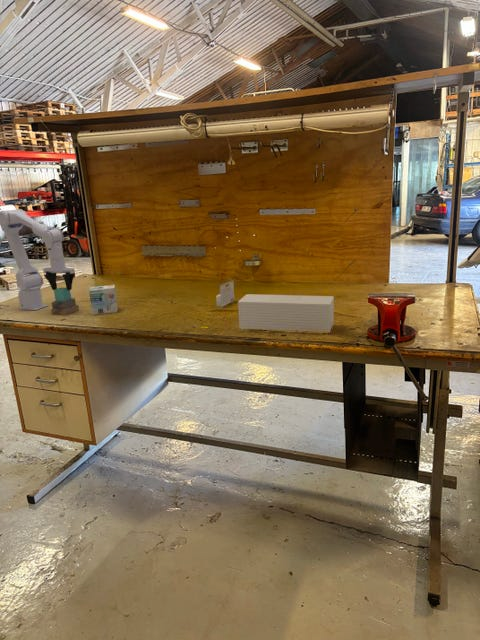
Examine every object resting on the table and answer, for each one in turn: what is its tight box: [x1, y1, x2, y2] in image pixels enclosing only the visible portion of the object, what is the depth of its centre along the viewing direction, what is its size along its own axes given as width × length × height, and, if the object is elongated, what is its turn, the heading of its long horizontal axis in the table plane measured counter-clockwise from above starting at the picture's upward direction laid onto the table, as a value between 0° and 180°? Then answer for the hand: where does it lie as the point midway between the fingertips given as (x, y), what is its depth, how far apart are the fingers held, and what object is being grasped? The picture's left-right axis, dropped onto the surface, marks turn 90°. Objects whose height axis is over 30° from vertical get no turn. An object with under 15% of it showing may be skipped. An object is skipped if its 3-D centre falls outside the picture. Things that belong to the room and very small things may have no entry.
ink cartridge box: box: [215, 279, 236, 308], centre depth 195 cm, size 2×11×10 cm, turn 149°
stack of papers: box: [237, 293, 335, 332], centre depth 160 cm, size 32×11×11 cm, turn 73°
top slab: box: [51, 297, 77, 309], centre depth 196 cm, size 7×7×3 cm
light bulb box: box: [88, 284, 119, 316], centre depth 193 cm, size 11×7×11 cm, turn 105°
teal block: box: [53, 287, 72, 302], centre depth 195 cm, size 5×5×5 cm
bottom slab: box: [50, 304, 80, 316], centre depth 196 cm, size 8×8×3 cm
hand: (62, 289), depth 194 cm, fingers open, 7 cm apart
